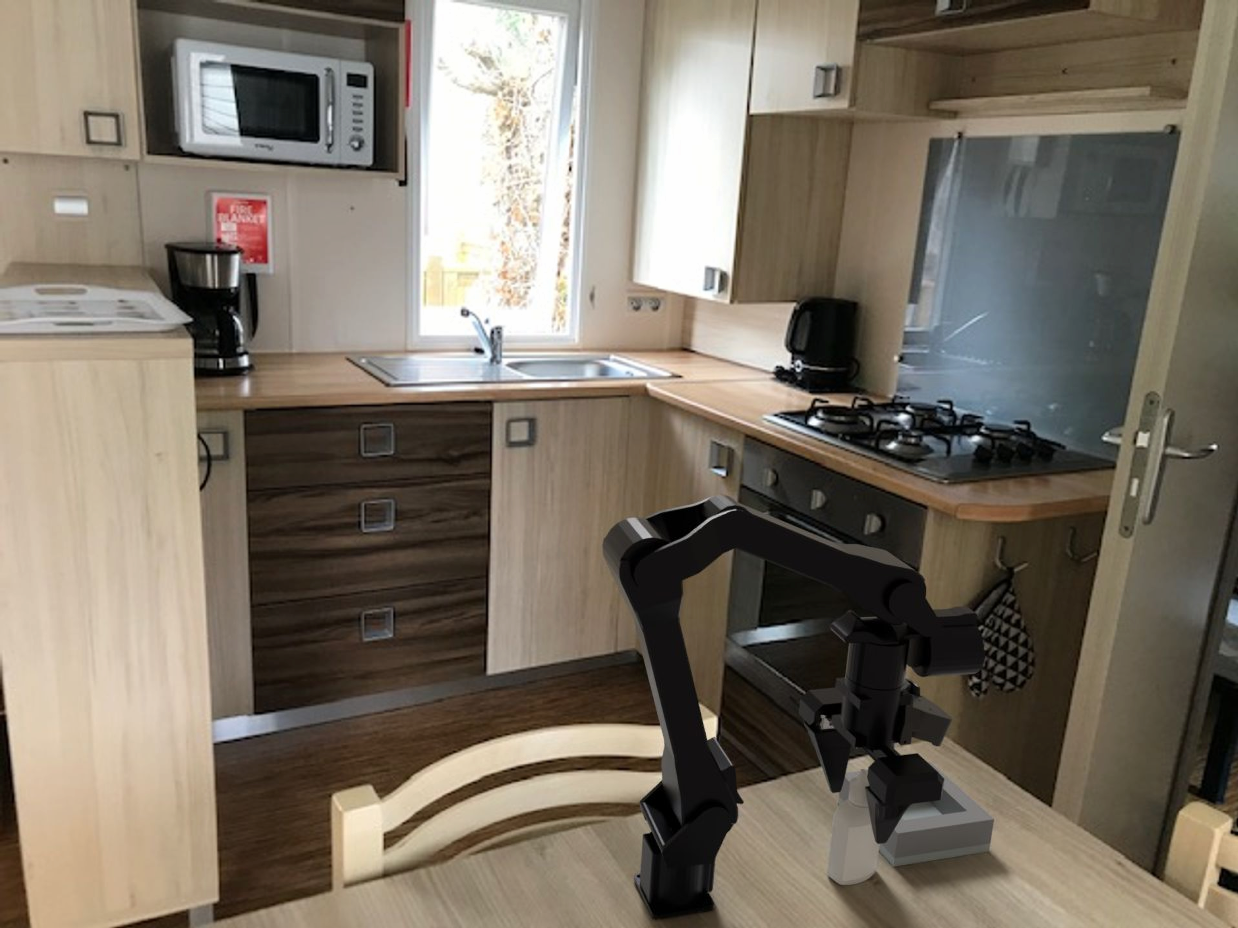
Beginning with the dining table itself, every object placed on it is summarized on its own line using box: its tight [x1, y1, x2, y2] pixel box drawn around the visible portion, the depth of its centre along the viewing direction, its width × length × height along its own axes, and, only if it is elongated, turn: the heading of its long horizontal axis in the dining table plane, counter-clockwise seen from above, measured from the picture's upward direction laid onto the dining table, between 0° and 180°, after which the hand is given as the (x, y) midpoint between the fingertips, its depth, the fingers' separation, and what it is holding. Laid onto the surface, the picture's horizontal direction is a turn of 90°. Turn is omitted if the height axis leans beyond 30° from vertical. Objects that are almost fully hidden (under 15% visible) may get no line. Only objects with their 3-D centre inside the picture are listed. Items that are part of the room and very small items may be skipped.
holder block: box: [837, 761, 995, 867], centre depth 114 cm, size 12×12×4 cm
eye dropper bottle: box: [826, 768, 880, 886], centre depth 105 cm, size 4×6×12 cm
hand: (857, 816), depth 105 cm, fingers open, 9 cm apart
